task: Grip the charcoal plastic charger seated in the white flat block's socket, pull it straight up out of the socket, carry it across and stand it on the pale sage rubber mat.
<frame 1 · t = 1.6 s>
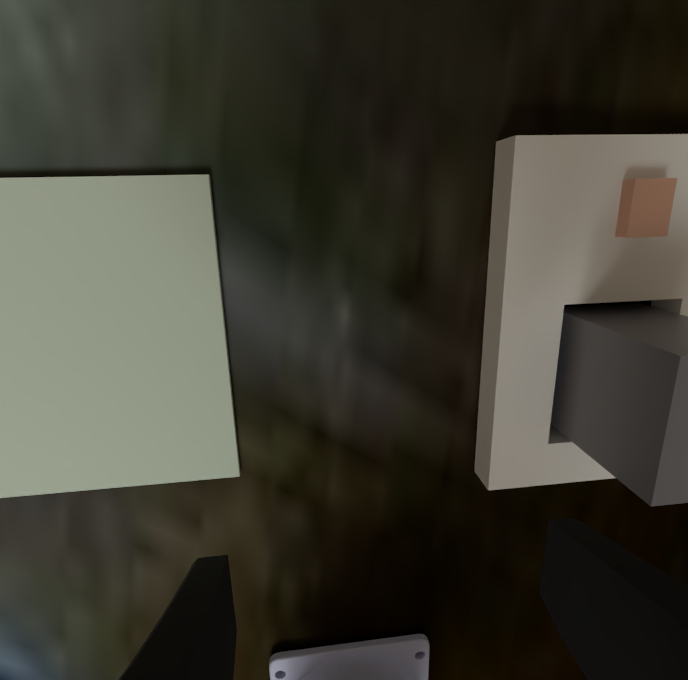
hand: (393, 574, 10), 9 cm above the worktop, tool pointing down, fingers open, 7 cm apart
white flat block: (595, 317, 19), on the worktop
rubber mat: (77, 346, 17), on the worktop
charger: (588, 361, 20), resting in white flat block
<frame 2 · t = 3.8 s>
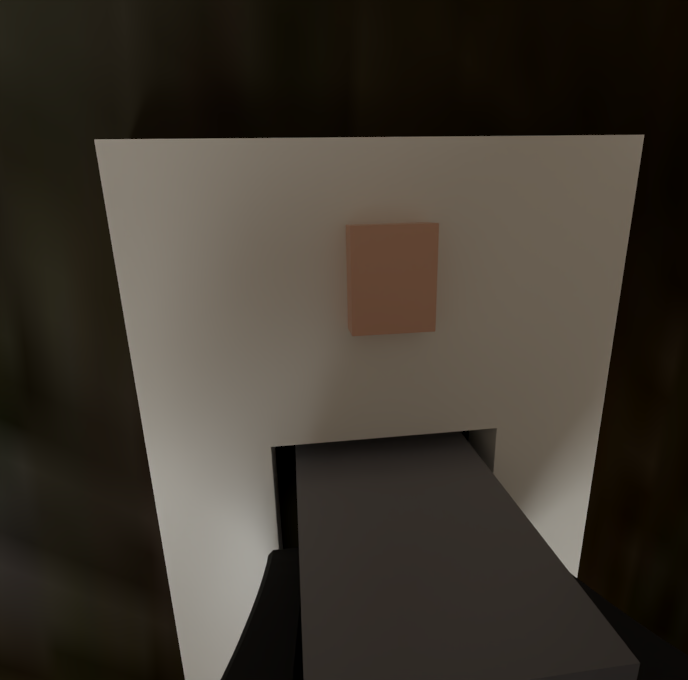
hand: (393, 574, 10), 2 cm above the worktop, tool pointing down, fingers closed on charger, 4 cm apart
white flat block: (374, 443, 11), on the worktop
charger: (374, 509, 12), resting in white flat block, touching gripper
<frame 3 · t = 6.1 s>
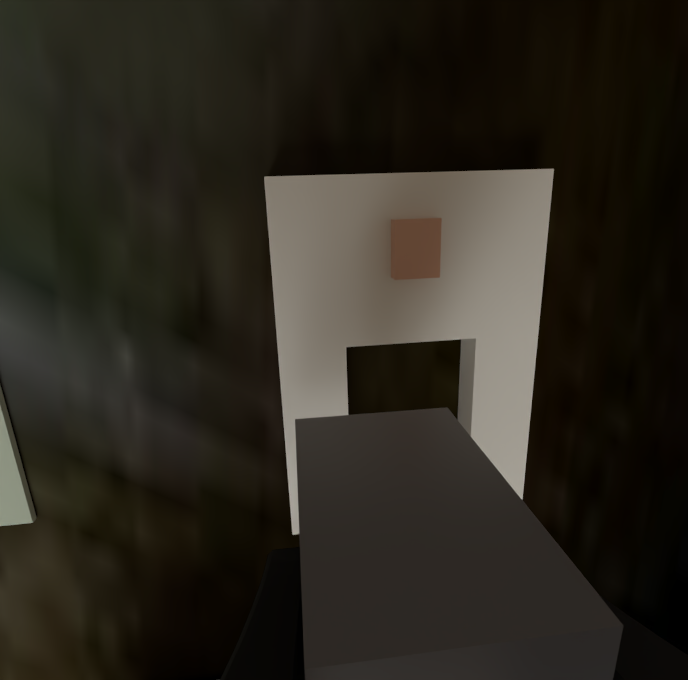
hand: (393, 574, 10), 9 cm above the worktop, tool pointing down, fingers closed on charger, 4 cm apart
white flat block: (402, 355, 19), on the worktop
charger: (373, 496, 12), point 7 cm above the worktop, touching gripper
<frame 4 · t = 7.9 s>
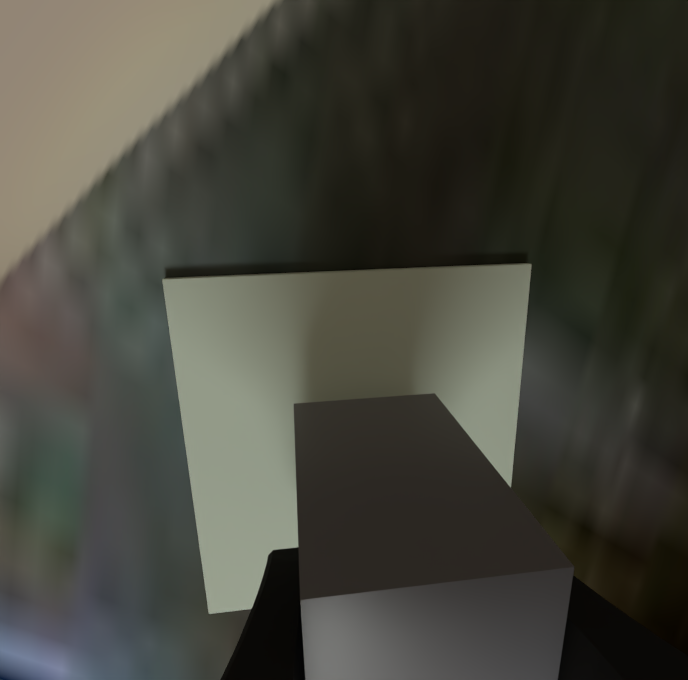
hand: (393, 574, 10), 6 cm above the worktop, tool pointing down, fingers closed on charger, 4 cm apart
rubber mat: (357, 447, 15), on the worktop
charger: (366, 476, 13), point 2 cm above the worktop, touching gripper
when the fingers open (4 cm above the worktop, at t = 8.7 s): charger stays where it is, resting on rubber mat.
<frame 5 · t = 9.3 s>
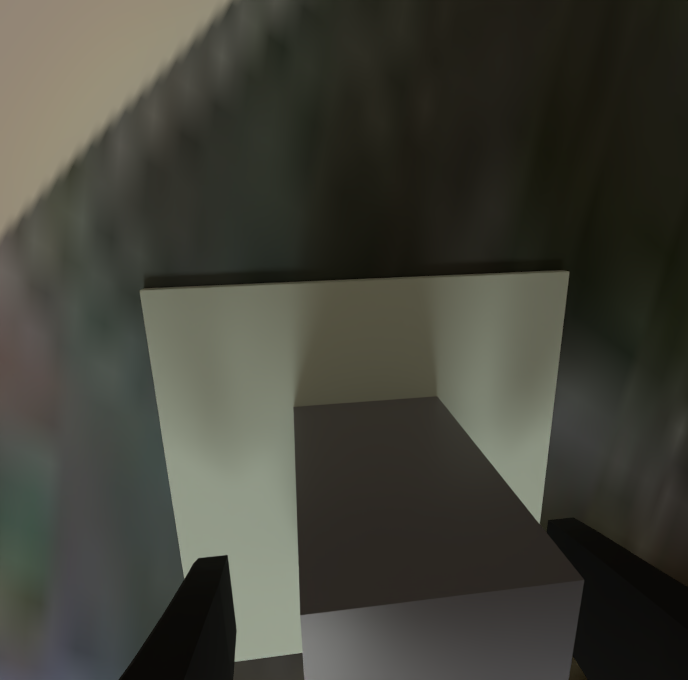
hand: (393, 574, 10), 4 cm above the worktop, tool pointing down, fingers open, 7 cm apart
rubber mat: (366, 479, 13), on the worktop
charger: (367, 480, 13), resting on rubber mat
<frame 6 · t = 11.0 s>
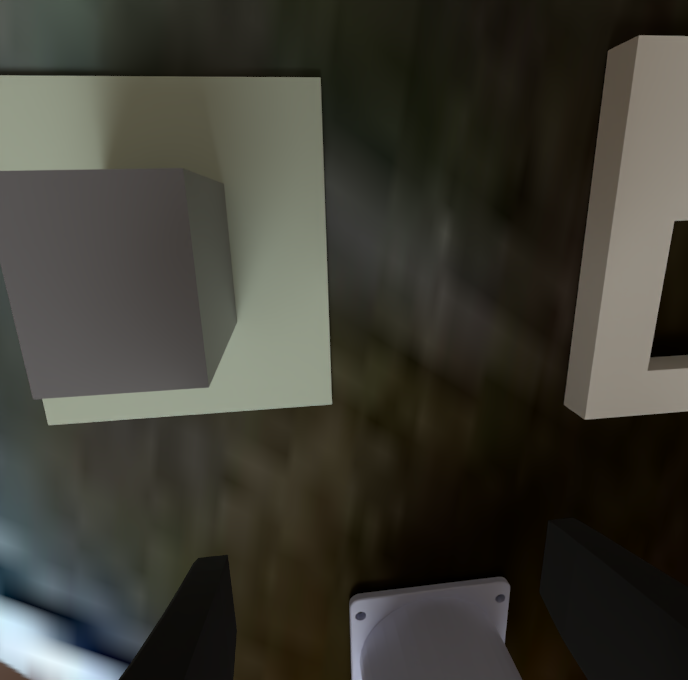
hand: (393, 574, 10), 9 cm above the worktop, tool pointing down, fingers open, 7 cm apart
rubber mat: (177, 262, 17), on the worktop
charger: (174, 258, 16), resting on rubber mat
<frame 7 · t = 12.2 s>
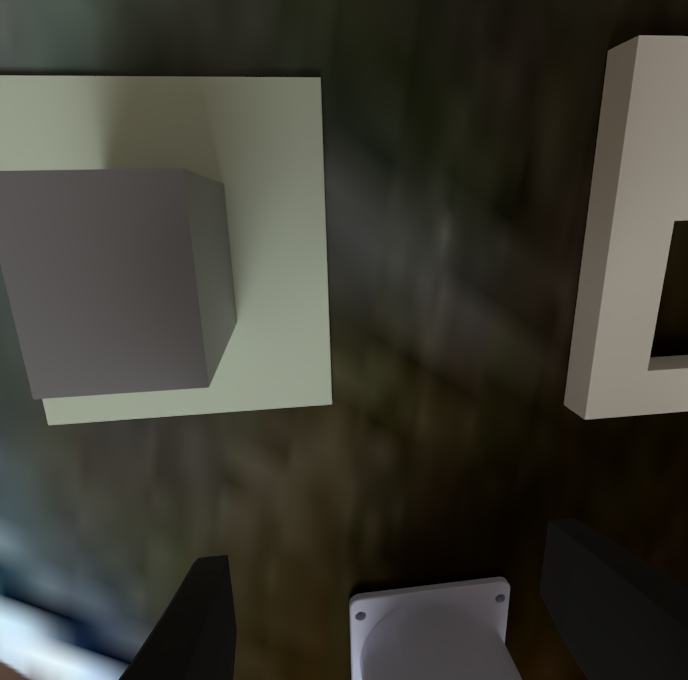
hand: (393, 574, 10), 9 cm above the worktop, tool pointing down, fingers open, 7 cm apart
rubber mat: (177, 262, 17), on the worktop
charger: (174, 258, 16), resting on rubber mat
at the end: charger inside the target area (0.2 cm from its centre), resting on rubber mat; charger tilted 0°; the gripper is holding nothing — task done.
